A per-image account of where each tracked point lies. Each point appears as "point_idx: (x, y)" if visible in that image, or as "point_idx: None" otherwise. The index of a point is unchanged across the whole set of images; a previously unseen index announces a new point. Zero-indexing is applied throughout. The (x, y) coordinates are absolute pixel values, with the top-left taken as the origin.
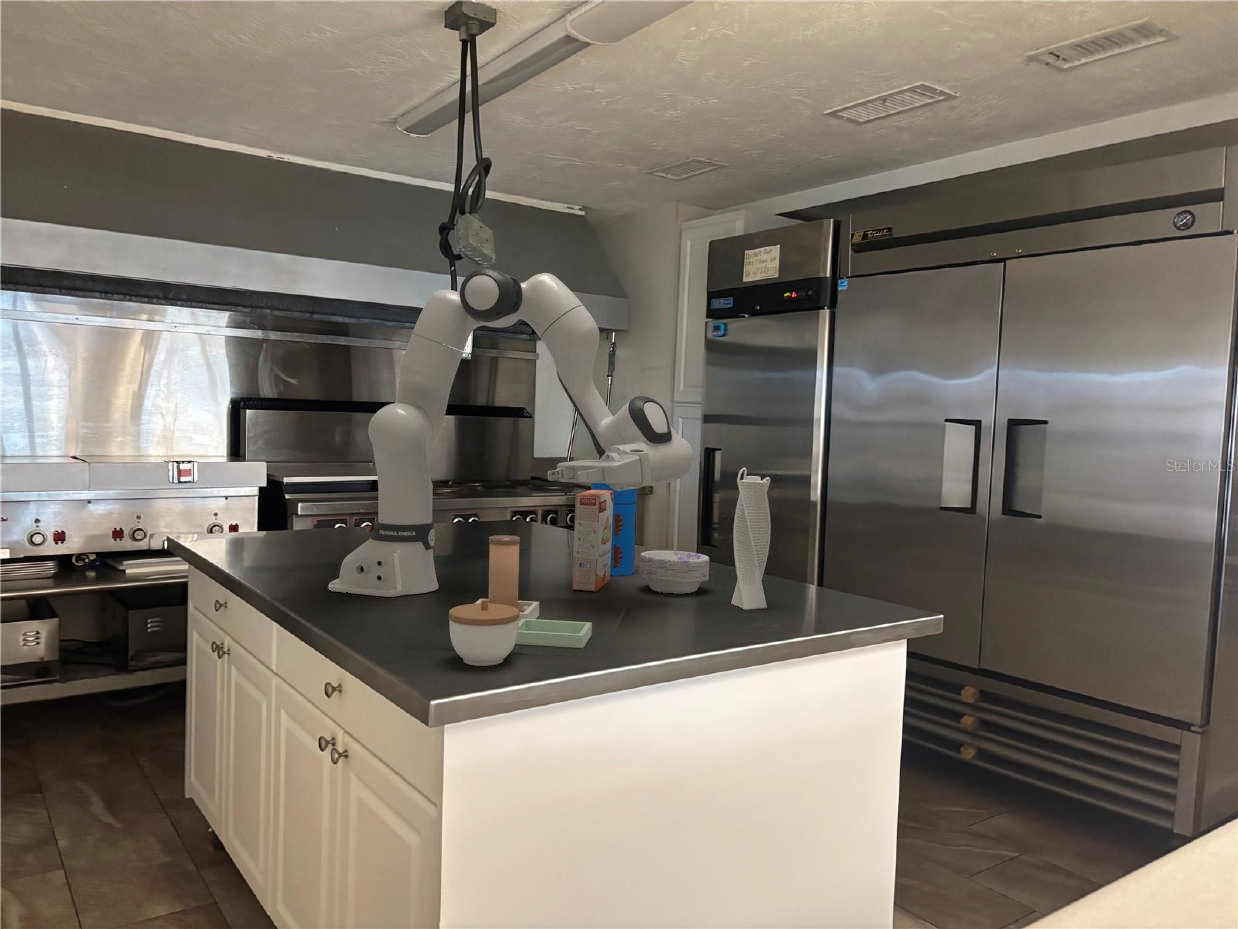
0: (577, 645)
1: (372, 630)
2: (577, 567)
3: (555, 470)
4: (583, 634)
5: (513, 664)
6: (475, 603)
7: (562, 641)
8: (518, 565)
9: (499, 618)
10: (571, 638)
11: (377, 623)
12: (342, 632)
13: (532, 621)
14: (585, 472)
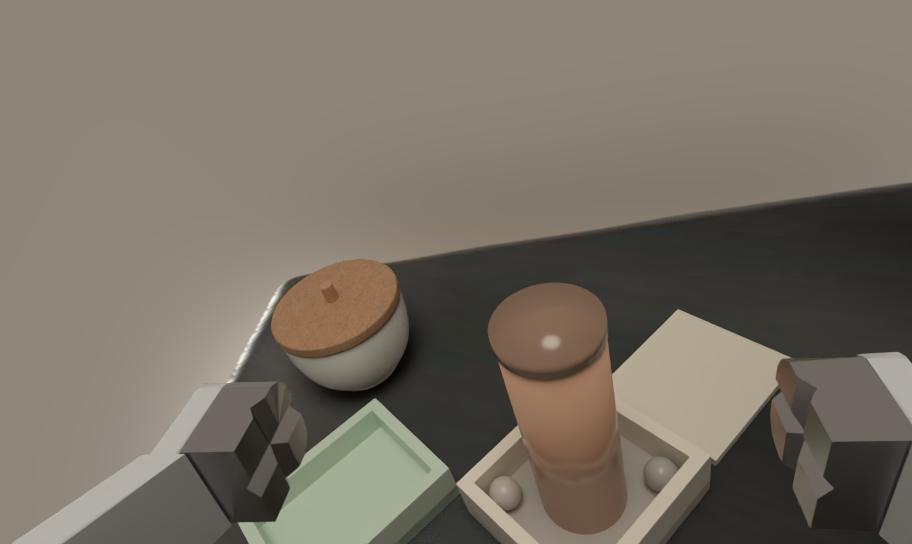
0: None
1: (659, 272)
2: None
3: (902, 422)
4: None
5: (314, 393)
6: (645, 418)
7: None
8: (527, 424)
9: (277, 305)
10: None
11: (721, 285)
12: (663, 238)
13: (418, 483)
14: (169, 445)
